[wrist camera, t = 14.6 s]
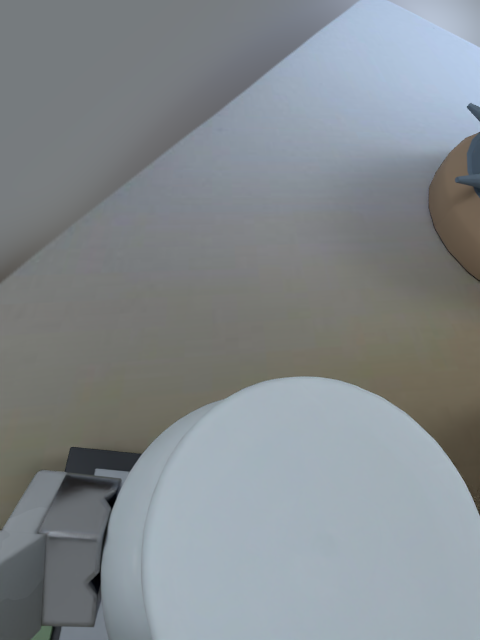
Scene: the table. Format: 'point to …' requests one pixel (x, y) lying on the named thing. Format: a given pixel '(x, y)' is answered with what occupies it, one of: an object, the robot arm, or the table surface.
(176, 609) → the pill bottle
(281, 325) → the table surface
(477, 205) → the alarm clock
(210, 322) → the table surface
